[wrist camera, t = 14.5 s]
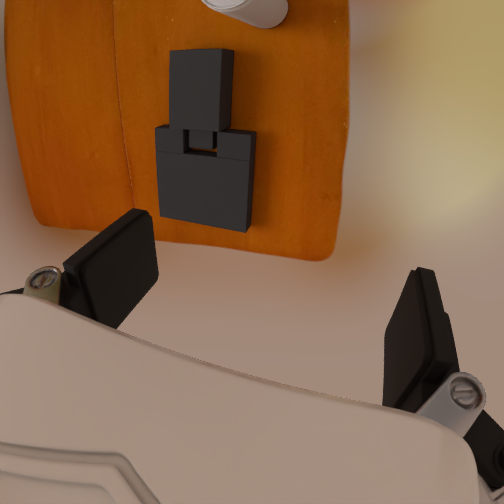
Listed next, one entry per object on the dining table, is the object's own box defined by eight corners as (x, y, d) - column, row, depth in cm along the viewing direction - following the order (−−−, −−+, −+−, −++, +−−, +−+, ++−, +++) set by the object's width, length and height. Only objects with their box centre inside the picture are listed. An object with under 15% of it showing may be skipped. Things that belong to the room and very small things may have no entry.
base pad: (256, 131, 34) (251, 135, 33) (250, 225, 41) (245, 232, 39) (163, 124, 37) (154, 127, 35) (167, 210, 43) (159, 216, 42)
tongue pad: (234, 50, 30) (222, 48, 27) (229, 147, 36) (218, 155, 33) (185, 51, 31) (169, 50, 28) (183, 143, 38) (169, 150, 35)
